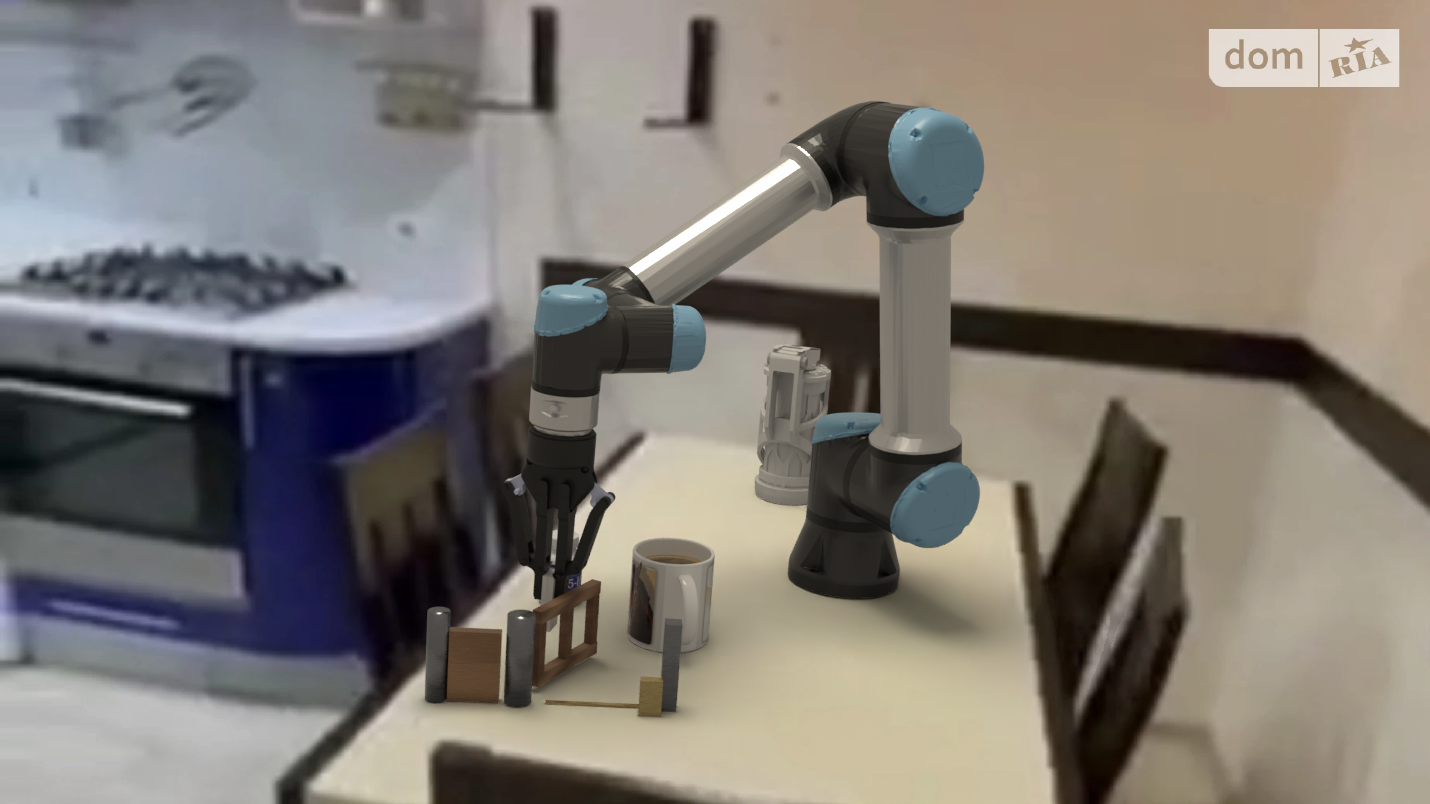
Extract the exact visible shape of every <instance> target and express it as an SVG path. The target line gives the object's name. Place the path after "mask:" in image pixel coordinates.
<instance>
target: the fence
mask: <svg viewBox="0 0 1430 804" xmlns="http://www.w3.org/2000/svg"><path fill="white" fill-rule="evenodd" d="M451 611H452V610H450V608H448V607H445V606H433V607H430V608H428V609H427V616H426V617H427V618H426V645H425V649H426V650H425V676H424V677H425V679H424V700H425V701H426V702H427V703H432V704H442V703H444V702H460V703H462V702H463V703H479V704H480V703H481V704H482V703H483V704H499V701H500V690H501V666H502V665H501V664H502V646H503V645H502V644H503V629H501V628H499V629H498V628H479V627H475V628H474V627H461V626H460V627H459V626H458V627H456V626H451ZM506 618H507V619H506V638H505V639H506V640H505V659H504V660H505V661H504V662H505V663H504V682H503V684H504V685H503V704H504V705H506V706H507V707H511V708H517V709H519V708H520V709H521V708H526V707H529V706H530V705H531V704H532V700H533V699H532V697H533V686H532V682H533V662H534V643H535V623H536V614H535V613H534V612H533V610H532V611H531V610H528V609H513V610H510V611H509V612H507V616H506ZM544 702H545V703H544V704H545V705H560V706H582V707H583V706H584V707H585V706H586V707H604V708H605V707H609V708H628V709H630V708H631V709H634V708H635V709H638V706H639V703H623V702H620V703H619V702H604V701H602V702H599V701H577V700H574V701H573V700H556V699H555V700H554V699H553V700H551V699H545V701H544Z"/></svg>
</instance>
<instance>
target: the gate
mask: <svg viewBox="0 0 1430 804" xmlns="http://www.w3.org/2000/svg"><path fill="white" fill-rule="evenodd" d="M601 588H602V581H600V580H597V579H593V578H591V579H589V580H588V581H586V582H584V583H581V585H580V586H578V587H576V588H574V589H572V590H570V591H568V592H566V593H564V594H562V595H560V596H558V597H557V598H555V599H553V600H551V601H549V602H547V603H545V604H543V605H541V604H540V605H539V606H537V607H536V608H533V609H532V612H534V613H535V614H536V623H535V643H534V662H533V682H532V687H534V688H537V689H538V688H541V687H542V686H544V685H546V684H547V683H549V682H550V681H552V680H554V679H555V678H557V677H559V676H561V675H562V674H564V673H566V672H567V671H569V670H571V669H572V668H574V667H576V666H578V665H579V664H581V663H582V662H585V661H586V660H587V659H589V658H591V657H592V656H594V655H596V654H597V653H598V631H599V630H598V627H599V626H598V625H599V611H600V597H601V596H600V595H601V590H602V589H601ZM582 603H585V615H584V616H585V618H584V619H585V620H584V633H583V634H584V635H583V642H582V643H580V644H578V645H576V646H574V647H573V646H572V645H573V633H574V632H573V631H574V629H573V628H574V612H575V607H577V606H579V605H581V604H582ZM556 616H559V631H558V632H559V633H558V646H557V650H558V651H557V657H555V658H554V659H552V660H550V661H548V662H547V663H546V645H547V643H546V642H547V632H546V629H547V621H549V620H551V619H553V618H554V617H556Z"/></svg>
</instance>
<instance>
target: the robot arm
mask: <svg viewBox="0 0 1430 804" xmlns="http://www.w3.org/2000/svg"><path fill="white" fill-rule="evenodd" d="M982 148H983V147H982V145H981V142H980V141H979V138H978V137H977V134H976V133H975V131H974V130H973V129H972V128H971V127H970V125H968V123H966V122H965V121H964V120H963V119H961V118H960V117H958V116H956V115H954V114H951V113H947V112H944V111H942V110H940V109H936V108H934V107H925V106H916V105H909V104H908V105H906V104H898V103H893V102H892V103H891V102H888V101H882V100H881V101H880V100H870V101H864V102H858V103H856V104H852V105H851V106H848V107H846V108H844V109H841V110H839V111H837V112H836V113H833V114H832V115H830V116H827V117H826V118H824V119H823V120H821V121H819V122H818V123H816V124H815V125H813V126H812V127H810V128H808V129H807V130H805V131H803V132H802V133H799V135H798V136H796V137H795V138H793V139H791V140H790V141H788V142H787V143H785V144H784V145H783V146H782V147H781V148H780V152H779V158H778V159H776V160H775V161H774V162H772V163H771V164H769V165H768V166H767V167H765V168H764V169H762V170H760V171H759V172H757V173H756V174H755V175H753V176H752V177H750V178H748V179H747V180H745V182H743V183H742V184H740V185H739V186H738V185H737V187H735V188H734V189H732V190H731V191H729V192H728V193H727V194H726V195H724V196H722V197H721V198H720V199H718V200H716V201H715V202H714V203H712V204H711V205H709V206H708V207H706V208H705V209H703V210H702V211H700V212H698V213H697V214H696V215H694V216H693V217H691V218H690V219H688V220H687V221H686V222H684V223H683V224H681V225H679V226H678V227H677V228H675V229H674V230H672V231H671V232H669V233H667V234H666V235H665V236H664V237H662V238H661V239H659V240H657V241H656V242H655V243H653V244H652V245H650V246H649V247H647V248H646V249H645V250H643V251H641V252H640V253H639V254H637V255H635V256H634V257H633V258H631V259H630V260H628V261H627V262H625V263H624V264H622V265H621V266H620V267H618V268H617V269H615V270H613V271H612V272H610V273H609V274H607V275H606V276H604V277H602V278H597V277H595V278H592V277H588V278H587V277H586V278H582V279H579V280H576V281H575V282H573V283H572V284H556V285H549V286H547V287H545V288H544V289H542V291H541V292H540V294H539V295H538V299H537V305H536V311H535V321H534V324H533V332H534V335H533V337H534V340H533V362H532V378H531V386H530V399H529V414H528V415H529V416H528V418H529V419H528V420H529V422H530V423H531V424H532V425H530V427H529V428H528V431H527V442H526V457H525V458H526V459H525V463H524V466H522V469H521V471H520V474H518V475H516V476H510V477H508V478H507V479H506V480H505V481H503V482H502V483H501V485H500V490H501V492H502V494H503V496H504V498H505V500H506V501H507V503H508V508H509V514H510V519H511V524H512V526H511V527H512V530H513V536H514V542H515V548H516V552H517V559H518V563H519V565H521V566H522V567H528V568H529V569H531V570H532V571H533V575H534V576H533V577H534V579H533V594H532V595H533V599H534V600H538V601H539V600H541V602H540V606H541V605H543V604H545V603H547V602H549V601H551V600H553V599H555V598H557V597H558V596H560V595H562V594H564V593H566V592H568V584H569V575H571V574H574V575H577V574H579V573H580V572H581V571H582V572H583V570H585V568H586V566H587V564H588V561H589V558H590V556H591V553H592V550H593V547H594V544H595V542H596V539H597V536H598V533H599V530H600V527H601V524H602V522H603V519H604V517H605V513H606V511H607V510H608V509H609V507H610V506H611V505H612V504H613V503H614V502H615V500H616V495H615V493H614V492H612V491H608V492H607V491H606V490H605V489H604V488H603V487H601V486H600V485H599V484H598V477H597V474H596V471H595V459H596V449H597V448H596V446H597V445H596V444H597V432H596V431H595V430H594V428H596V427H597V425H598V422H599V421H598V420H599V409H600V408H599V406H600V405H599V404H600V392H601V383H602V377H603V376H602V375H605V374H606V375H613V374H614V375H615V374H659V373H661V374H662V373H663V374H667V375H669V374H670V375H671V374H672V373H679V372H681V373H682V372H688V371H692V370H694V369H696V368H697V367H698V366H699V365H700V364H701V362H702V360H703V357H704V356H705V352H706V345H707V342H706V341H707V330H706V326H705V322H704V320H703V317H702V315H701V314H700V312H699V311H698V310H697V309H696V308H694V307H692V306H690V305H679V304H678V303H679V302H681V301H683V300H684V299H685V298H687V297H688V296H690V295H691V294H693V293H694V292H695V291H697V290H698V289H700V288H701V287H702V286H704V285H706V284H708V282H710V281H712V280H714V278H716V277H717V276H719V275H720V274H721V273H723V272H724V271H726V270H728V269H729V268H730V267H731V266H733V265H734V264H736V263H737V262H740V260H742V259H744V258H745V257H747V256H748V255H749V254H750V253H753V252H754V251H755V250H756V249H758V248H759V247H762V246H763V245H764V244H765V243H767V242H768V241H769V240H771V239H773V238H774V237H775V236H777V235H779V234H780V233H782V232H783V231H784V230H785V229H788V227H790V226H791V225H793V224H794V223H796V222H797V221H799V220H800V219H801V218H803V217H805V216H806V215H807V214H809V213H810V212H812V211H814V210H815V211H819V212H826V211H828V210H829V209H831V208H832V207H834V206H835V205H836V204H838V203H840V202H843V201H844V200H847V199H851V198H855V197H865V208H866V214H865V215H866V224H867V226H868V227H869V228H871V229H872V231H874V232H875V233H876V234H877V236H878V238H879V243H878V244H879V247H878V248H879V355H880V356H879V369H880V370H879V373H880V374H879V375H880V376H879V389H880V390H879V391H880V392H879V393H880V394H879V395H880V396H879V397H880V398H879V399H880V406H879V407H880V408H879V409H880V413H877V412H836V413H830V414H827V415H825V416H823V417H821V418H820V419H819V420H818V421H817V422H816V424H815V429H814V434H813V439H812V442H811V445H812V454H811V465H810V476H809V487H808V498H807V504H806V511H805V512H806V513H805V519H804V524H803V525H802V528H801V529H800V532H799V535H798V536H797V539H796V541H795V544H794V546H793V548H792V551H791V552H790V555H789V558H788V566H787V577H788V579H789V580H790V581H791V582H792V583H794V584H795V585H797V586H798V587H801V588H802V589H804V590H808V591H810V592H813V593H816V594H821V595H823V596H829V597H835V598H844V599H873V598H879V597H884V596H887V595H890V594H892V593H894V592H895V591H897V589H898V587H899V585H900V575H901V567H900V563H899V558H898V554H897V549H896V545H895V540H894V537H895V538H896V539H898V541H901V542H904V543H907V544H910V545H913V546H915V547H918V548H921V549H934V548H939V547H942V546H944V545H946V544H949V543H951V542H952V541H954V540H955V539H956V538H958V537H959V536H961V534H962V533H963V531H964V530H965V528H967V526H969V525H970V524H971V522H972V521H973V519H974V517H975V515H976V513H977V511H978V508H979V503H980V498H981V488H980V483H979V480H978V478H977V475H975V473H973V471H972V469H971V468H970V467H969V466H967V465H964V464H963V462H962V461H963V438H962V435H961V433H960V431H958V429H956V428H955V427H954V426H953V425H952V424H951V322H952V321H951V320H952V319H951V313H952V311H951V305H952V303H951V302H952V301H951V299H952V297H951V295H952V294H951V293H952V291H951V289H952V288H951V284H952V277H951V274H952V236H953V234H954V233H955V232H956V230H958V229H959V228H960V227H961V226H962V225H963V224H964V222H965V208H967V207H968V206H969V205H970V204H972V202H973V201H974V199H975V194H976V192H977V193H978V192H979V191H980V189H981V186H982V183H983V179H984V175H985V158H984V152H983V149H982ZM677 304H678V305H677ZM527 489H528V492H529V493H530V495H531V496H532V498H533V500H534V501H535V503H536V505H535V506H536V508H535V516H536V525H535V526H536V528H535V542H534V537H533V530H532V525H531V521H530V519H531V518H530V513H529V508H528V502H527V498H526V495H525V492H526V491H527ZM588 495H590V496H591V498H590V501H589V505H590V506H591V507H592V509H591V511H590V512H589V513H588V516H587V519H586V522H585V525H584V527H583V530H582V532H581V536H580V538H579V544H578V547H577V548H576V549H577V550H576V553H575V556H574V559H573V560H572V550H573V538H574V532H575V525H576V524H575V522H576V514H577V511H578V507H579V505H580V504H581V503H582V502H583V501H584V500H585V499H586V498H587V497H588ZM556 509H557V519H558V520H557V521H558V522H557V530H558V533H557V546H556V558H555V569H551V568H550V569H549V566H550V565H551V564H552V562H553V561H551V550H552V535H553V531H554V530H553V529H554V518H555V510H556ZM558 616H559V615H558ZM558 616H556V617H554V618H553V619H551V620H549V621H547V629H546V633H550V632H552V630H553V629H554V628H555V627H556V625H558Z"/></svg>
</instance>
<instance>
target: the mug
mask: <svg viewBox="0 0 1430 804" xmlns="http://www.w3.org/2000/svg"><path fill="white" fill-rule="evenodd" d="M715 557H716V556H715V551H714V549H712V548H711V547H709V546H708V545H706V544H704V543H701V542H698V541H695V540H692V539H691V540H690V539H688V538H687V539H685V538H680V537H656V538H647V539H645V540H642V541H639V542H638V543H636V544H635V545H634V546H633V548H632V556H631V570H630V571H631V572H630V587H629V600H628V601H629V603H628V615H627V631H626V635H627V638H628V639H629V640H630V642H631V643H633V644H634V645H635V646H638V647H640V648H643V649H646V650H649V651H653V652H657V653H663V642H664V628H665V618H667V619H682V625H683V626H682V640H681V653H688V652H692V651H697V650H699V649H701V648H703V647H704V646H706V645H707V643H708V642H709V631H710V621H711V608H712V607H711V606H712V596H713V584H714V583H713V581H714V571H715V570H714V568H715V559H716V558H715Z"/></svg>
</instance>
